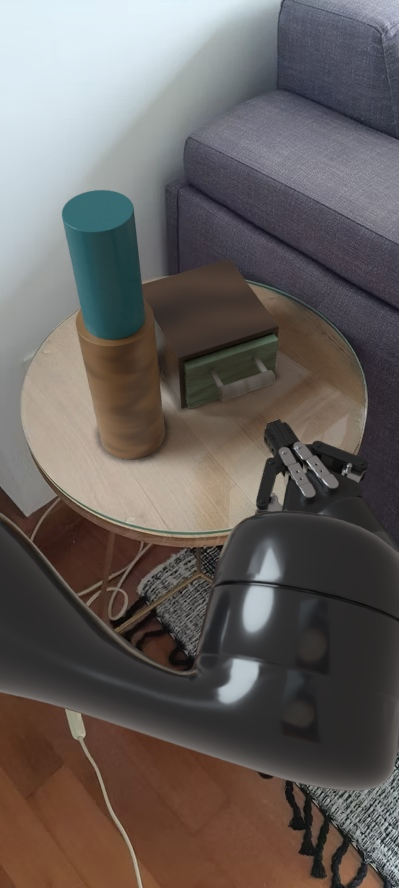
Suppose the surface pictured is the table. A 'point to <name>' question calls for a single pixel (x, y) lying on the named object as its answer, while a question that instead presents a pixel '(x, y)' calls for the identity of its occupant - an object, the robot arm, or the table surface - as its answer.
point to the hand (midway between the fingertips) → (271, 426)
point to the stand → (125, 388)
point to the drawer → (231, 371)
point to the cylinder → (105, 262)
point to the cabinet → (203, 317)
